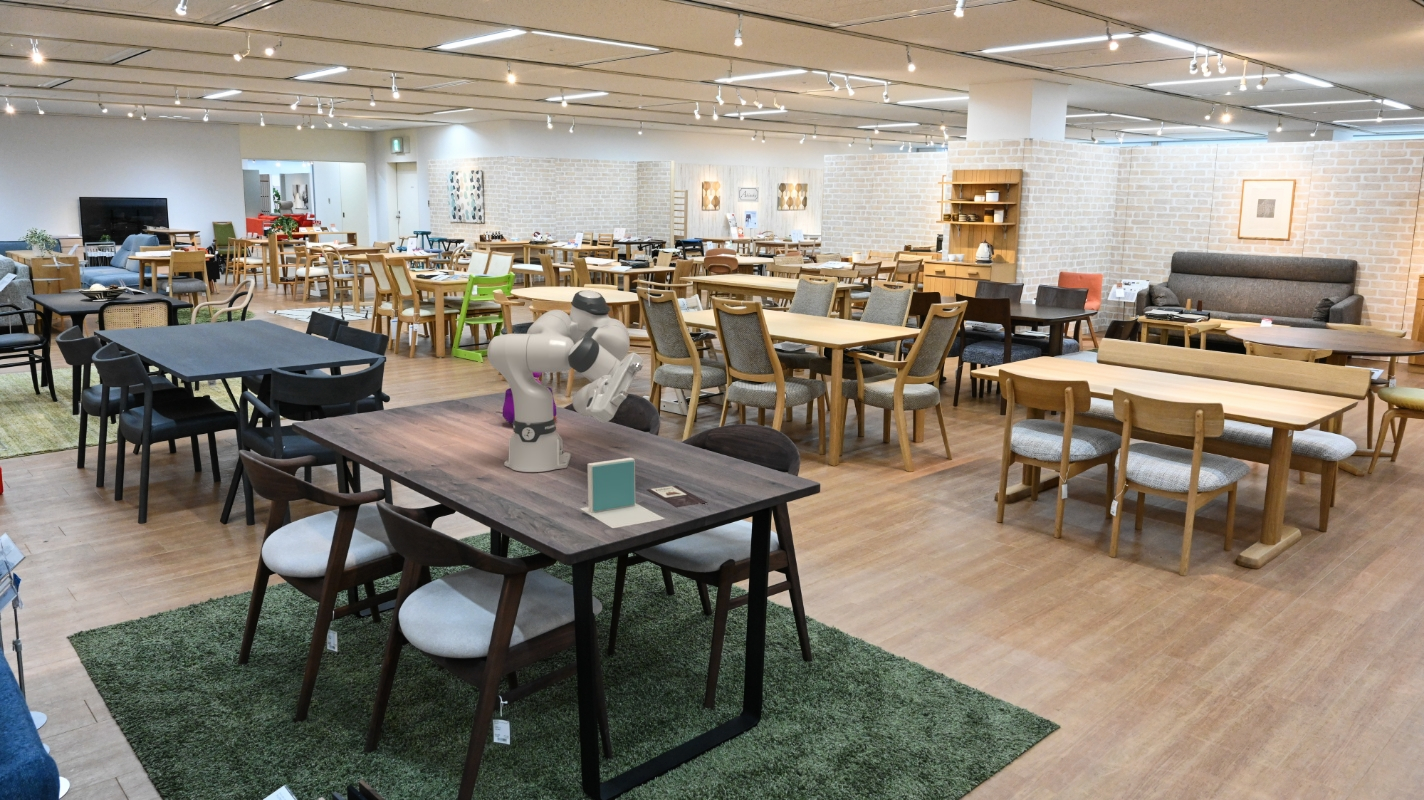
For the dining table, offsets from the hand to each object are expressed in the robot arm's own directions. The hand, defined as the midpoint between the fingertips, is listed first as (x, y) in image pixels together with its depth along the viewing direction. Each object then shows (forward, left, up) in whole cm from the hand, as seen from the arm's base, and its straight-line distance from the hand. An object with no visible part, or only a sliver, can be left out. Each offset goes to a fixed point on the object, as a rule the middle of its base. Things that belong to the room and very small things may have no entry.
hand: (632, 379), depth 253 cm
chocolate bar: (+2, +12, -31) cm, 33 cm away
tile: (+15, -2, -30) cm, 34 cm away
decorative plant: (-81, -54, -31) cm, 102 cm away
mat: (+19, +1, -31) cm, 36 cm away
